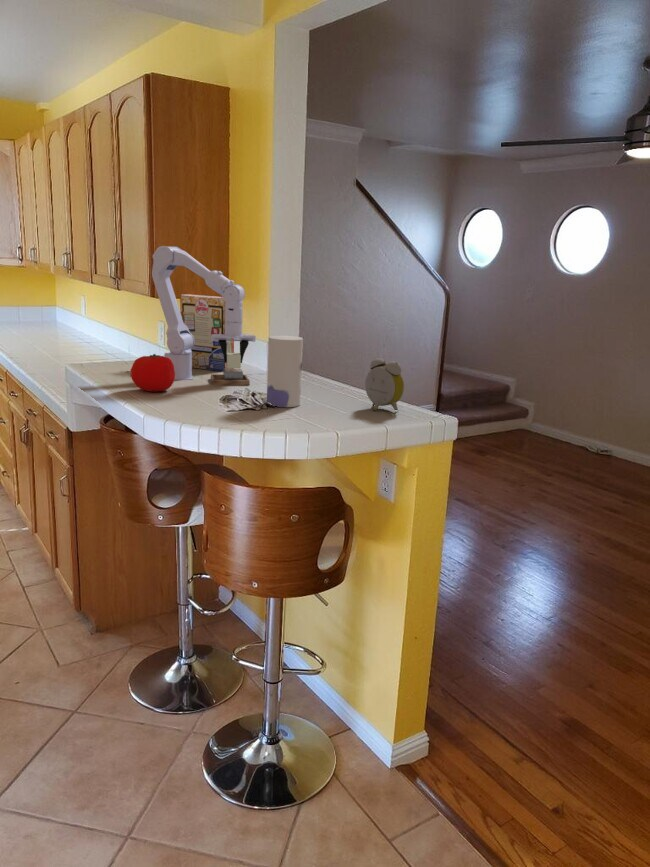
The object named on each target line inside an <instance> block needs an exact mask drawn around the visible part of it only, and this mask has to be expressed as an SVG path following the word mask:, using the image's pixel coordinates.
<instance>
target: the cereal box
mask: <svg viewBox="0 0 650 867" xmlns="http://www.w3.org/2000/svg"><path fill="white" fill-rule="evenodd" d="M179 304H180V305H179V310H180V313H181V316H182V320H183V323H184V324H185V325H186V326H187V327H188V329H189V332H190V333H191V334H192V335H193V337H194V340H195V343H194V346H193V347H192V348H191V351H192V369H194V368H195V369H203V370H209V371H215V372H217V371H218V372H223V369H235V368H227V367H226V363H225V362H224V356H223V352H222V349H221V346H220V344H219V342H218V341H212V340H211V334H225V300H224V299H223V296H215V295H213V296H211V295H201V294H200V295H199V294H179ZM228 339H230V338H228ZM226 342H227V353H235V341H226Z"/></svg>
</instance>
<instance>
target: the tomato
mask: <svg viewBox="0 0 650 867" xmlns="http://www.w3.org/2000/svg"><path fill="white" fill-rule="evenodd" d="M164 356H166V355H159V354H156V353H153V354H150V355H143V356H140V357H138V358H136V359H134V362H133V363H132V364H131V369H130V377H131V380H132V383H134V385H135V386H136V387H138V388H139V389H140V390H142V391H147V392H162V391H167V390H169V389H170V388H171V387H172V385H173V384H174V382H175V381H176V380H175V370H174V365H173V363H172V361H171V360H170V359H169V358H167V357H164Z"/></svg>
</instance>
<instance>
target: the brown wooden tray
mask: <svg viewBox="0 0 650 867" xmlns="http://www.w3.org/2000/svg"><path fill="white" fill-rule="evenodd" d="M210 380H211V383H212V385H213V386H248V387H249V386H251V385H250V379H249V377H248V376H247V374H243V380H223V373H222V374H216V373H215V374H214V373H213V374H212V373H211V374H210Z"/></svg>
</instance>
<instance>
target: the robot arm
mask: <svg viewBox="0 0 650 867" xmlns="http://www.w3.org/2000/svg"><path fill="white" fill-rule="evenodd" d="M152 259H153V263H152V270H151V277H152V281H153V283H154V286H155V289H156V290H155V291H156V293H157V296H158V299H159V303H160V306H161V309H162V313H163V315H164V318H165V322H166V325H167V329H166V332H165V334H166V339H167V340H166V345H167V349H168V350H169V352H164V355H166V356H164V355H163V356H164V357H167V358H169V359H170V360H171V361H172V363H173V365H174V370H175V380H174V381H177V380H179V381H180V380H181V381H183V380H184V381H185V380H186V381H187V380H188V381H192V380H193V381H194V376H193V372H192V371H193V368H192V351H191V348H192V347H193V346H194V343H195V340H194V337H193V335H192V334H191V333H190V332H189V329H188V327H187V326H186V325H185V324H184V323H183V320H182V316H181V313H180V306H179V304H178V301H177V298H176V294H175V291H174V287H173V284H172V282H171V279H170V277H171V275H172V273H173V272H174V270H175V269H177V267H179V266H180V267H185V268H187V270H188V269H189V270H190V271H191V272H193V273H195V274H196V275H197V276H199V277H201V278H202V279H204V281H205V285H206V286H208V287H209V288H210V289H211V290H213V291H214V292H215V293H217V294H219V295H220V297H223V299H224V300H225V334H211V340H212V341H218V342H219V344H220V346H221V349H222V352H223V356H224V362H225V363H227V342H226V341H234V342H239V353H240V355H241V364H242V363H243V360H244V356H245V352H246V350H247V348H248V346H249V345H250V344H249V342H253V343H255V342H256V335H255V334H251V335H250V334H243V317H244V316H243V302H244V301H243V300H244V299H245V297H246V291H245V289H244V287H242V285H241V284H237V283H235V281H234V280H232V279H231V280H230V279H229V278H227V277H226V276H224V275H223V273H224V272H222V271H221V270H216V269H215V270H214V269H213V270H210V269H209V268H207V267H206V266H205V265H204V264H202V263H200V261H198V260H197V259H195V258H194V257H193V256H192V255H190V254H189V253H188V252H187V251H185V250H183V249H181V248H180V247H178V246H167V245H160V246H159V247H157V248H156V250H154V253H153V254H152ZM228 338H230V339H228Z"/></svg>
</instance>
